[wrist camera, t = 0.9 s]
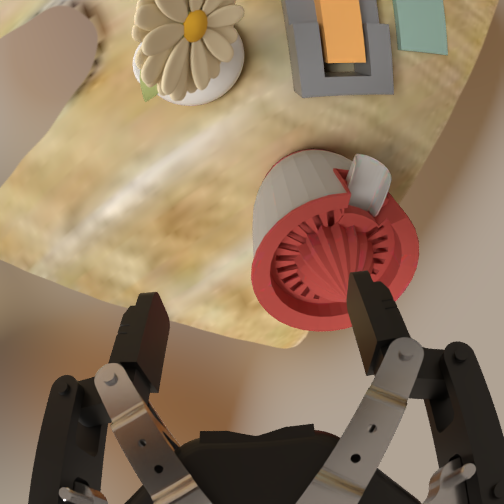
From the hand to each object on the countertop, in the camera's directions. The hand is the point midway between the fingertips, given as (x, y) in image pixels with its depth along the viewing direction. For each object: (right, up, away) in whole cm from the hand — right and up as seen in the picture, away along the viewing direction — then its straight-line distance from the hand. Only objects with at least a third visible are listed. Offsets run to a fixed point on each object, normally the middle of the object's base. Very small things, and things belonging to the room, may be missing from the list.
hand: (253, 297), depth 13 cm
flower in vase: (-6, +24, +17) cm, 30 cm away
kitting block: (+9, +28, +15) cm, 33 cm away
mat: (+20, +32, +12) cm, 39 cm away
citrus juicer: (+8, +11, +27) cm, 30 cm away
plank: (+9, +26, +12) cm, 30 cm away
